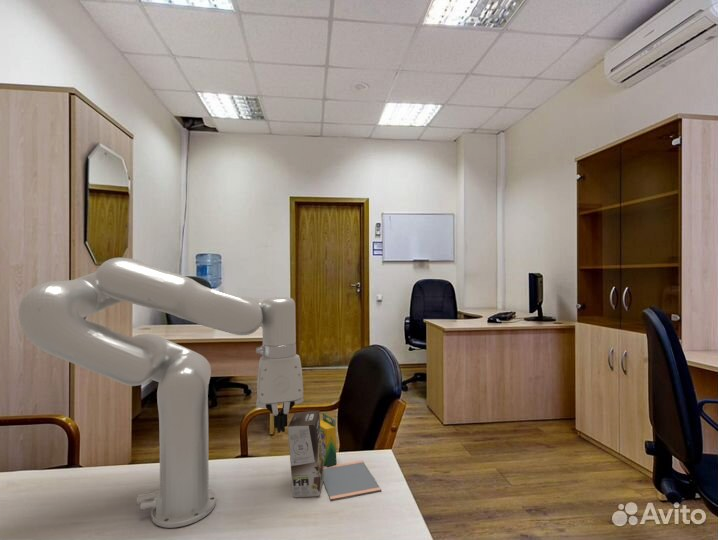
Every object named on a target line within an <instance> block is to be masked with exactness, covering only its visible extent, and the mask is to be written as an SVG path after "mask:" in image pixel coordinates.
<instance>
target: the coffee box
mask: <svg viewBox="0 0 718 540" xmlns="http://www.w3.org/2000/svg"><path fill="white" fill-rule="evenodd" d="M320 415H321V414H320V410H309V411H302V412H301V411H300V412H294V413H293V416H292V417H291V420H290V422H289V424H287V431H288V445H289V446H288V447H289V459H290V460H289V461H290V463H289V464H290V473H291V474H290V476H291V487H292V489H291V490H292V497H293V498H303V497H304V498H307V497H319V496H320V495H321V490H322V487H323V478H324V467H325V465H324V464H323V453H322V441H321V428H320V420H321V417H320Z"/></svg>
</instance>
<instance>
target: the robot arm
mask: <svg viewBox="0 0 718 540" xmlns="http://www.w3.org/2000/svg"><path fill="white" fill-rule="evenodd" d="M122 302H126V303H128V304H129V303H130V304H133V305H137V306H141V307H143V308H147V309H152V310H155V311H159V312H163V313H166V314H169V315H172V316H175V317H177V318H180V319H182V320H186V321H189V322H192V323H195V324H198V325H199V326H203V327H207V328H209V329H213V330H217V331H221V332H225V333H228V334H232V335H237V336H249V335H252V334H254V333H255V332H256V331H258V330H259V329H260V327H261V329H262V345H261V346H259V347H256V348H255V353H256V354H259V355H262V356H260V358H259V362H258V368H257V369H258V370H257V381H256V383H257V385H256V390H257V393H256V394H257V399H256V404H255V407H256V408H258V409H267V410H268V411H269V412H271V414H272V415H273V428H274V429H276V431H277V433H278V434H280V433H281V432H282V433H285V432H286V428H285V427H288V414H289V413H290V411H291V410H292V408H293V407H294V406H295V405H298V404H302V403H303V402H304V401H305V399H304V382H303V381H304V379H303V370H302V362H301V358H300V355H299V354H297V343H296V341H297V339H296V337H297V335H296V331H297V329H296V302H295V300H294V299H293V298H292V297H288V296H287V297H286V296H285V297H284V296H278V297H277V296H275V297H274V296H273V297H269V298H259V297H249V296H248V297H247V296H243V297H242V296H241V297H238V296H235V295H232V294H228V293H225V292H221V291H218V290H215V289H213V288H210V287H207V286H205V285H203V284H201V283H199V282H197V281H196V280H194V279H192V278H190V277H188V276H186V275H182V274H179V273H175V272H172V271H168V270H165V269H162V268H158V267H156V266H152V265H149V264H146V263H144V262H142V261H141V260H138V259H135V258H130V257H129V258H128V257H113V258H109V259H107V260H105V261H104V262H102V264H101V265H99V266H98V268H97V270H96V271H94V272H92V273H89V274H85V275H83V276H80V277H77V278H75V279H70V280H69V279H68V280H53V281H47V282H44V283H39V284H38V285H35V286H33V287H32V288H31V289H29V290H28V291H27V292H25V294H24V295H23V297H22V298H21V300H20V303H19V305H18V306H19V307H18V321H19V325H20V328H21V331H22V332H23V334H24V335H25V337H26V338H27V339H28V341H30V343H31V344H33V345H34V346H35V347H37V348H38V349H39V350H41V351H43V352H45V353H46V354H49V355H51V356H53V357H56V358H58V359H60V360H63V361H65V362H68V363H70V364H71V363H72V364H73V365H76V366H78V367H81V368H83V369H84V370H85V369H86V370H87V371H90V372H93V373H94V374H98V375H100V376H103V377H104V378H108V379H110V380H111V381H115V382H117V383H120V384H122V385H125V386H130V387H136V386H141V385H143V384H145V383H147V382H149V381H150V380H152V381H155V382H157V383H158V386H157V392H156V399H157V410H158V421H159V423H158V424H159V425H158V427H159V433H158V434H159V489H157V490H154V491H153V492H151V493H141V494H137V497H136V506H140V510H141V511H143V510H148V509H151V520H152V522H153V523H154V525H156V526H158V527H161V528H170V529H173V528H180V527H185V526H188V525H192V524H194V523H197V522H198V521H200V520H202V519H203V518H205V517H206V516H208V515H209V514H210V513H212V511H213V510H214V508H215V506H216V504H217V494H216V493H215V491H214V490H212V489H210V487H209V470H210V469H209V397H208V395H209V384H210V380H211V376H212V368H211V364H210V362H209V360H208V359H207V358H206V357H204V356H203V355H202V354H200V353H198V352H196V351H194V350H192V349H190V348H188V347H185V346H183V345H180V344H178V343H176V342H173V341H171V340H169V339H167V338H164V337H162V336H159V335H155V334H150V333H141V334H137V335H134V336H127V335H125V334H123V333H121V332H118V331H116V330H114V329H111V328H109V327H107V326H104V325H102V324H99V323H95V322H92V321H89V320H86V319H85V318H86V317H88V316H90V315H93V314H96V313H98V312H100V311H103V310H106V309H109V308H110V307H113V306H116V305H118V304H120V303H122ZM278 404H282V407H281V410H280V409H279V408H278Z"/></svg>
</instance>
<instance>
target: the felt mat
mask: <svg viewBox="0 0 718 540" xmlns="http://www.w3.org/2000/svg"><path fill="white" fill-rule="evenodd" d="M322 484H323V486H324V488H325V490H326V493H327V495H328V497H329V501H330V502H333V501H338V500H344V499H350V498H355V497H360V496H364V495H369V494H375V493H380V492H382V488H381V487H380V485H379V484H378V482H377V480H376V479H375V477H374V476H373V474H372V473H371V472H370V469H369V468H368V467H367V465H366V464H365V462H364V461H363V460H357V461H352V462H351V461H350V462H345V463H337V464H336V465H334V466H330V467H327V466H325V465H324V478H323V482H322Z"/></svg>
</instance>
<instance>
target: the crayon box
mask: <svg viewBox="0 0 718 540" xmlns="http://www.w3.org/2000/svg"><path fill="white" fill-rule="evenodd" d="M327 418H328V419H329V420H328V419H327ZM330 420H331V421H330ZM320 428H321V441H322V453H323V465H324V467H325V466H327V467H330V466H334V465H338V463H337V462H338V461H337V460H338V459H337V435H336V434H337V430H336V429H337V427H336V419H335V418H333V417H331V416H330V415H328V414H326V413H324V412H322V419H320Z"/></svg>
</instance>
